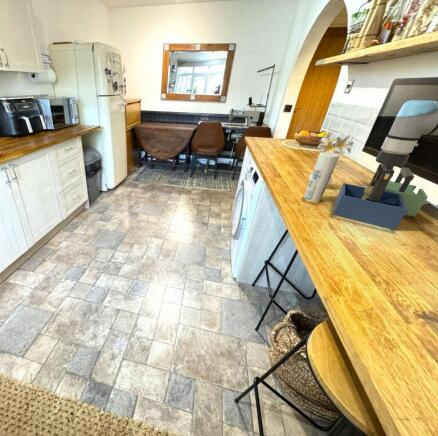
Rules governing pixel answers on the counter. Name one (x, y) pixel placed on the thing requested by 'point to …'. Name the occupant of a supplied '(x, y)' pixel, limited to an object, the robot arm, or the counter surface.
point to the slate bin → (370, 207)
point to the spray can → (321, 176)
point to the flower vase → (341, 144)
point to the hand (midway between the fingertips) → (363, 211)
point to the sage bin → (407, 191)
